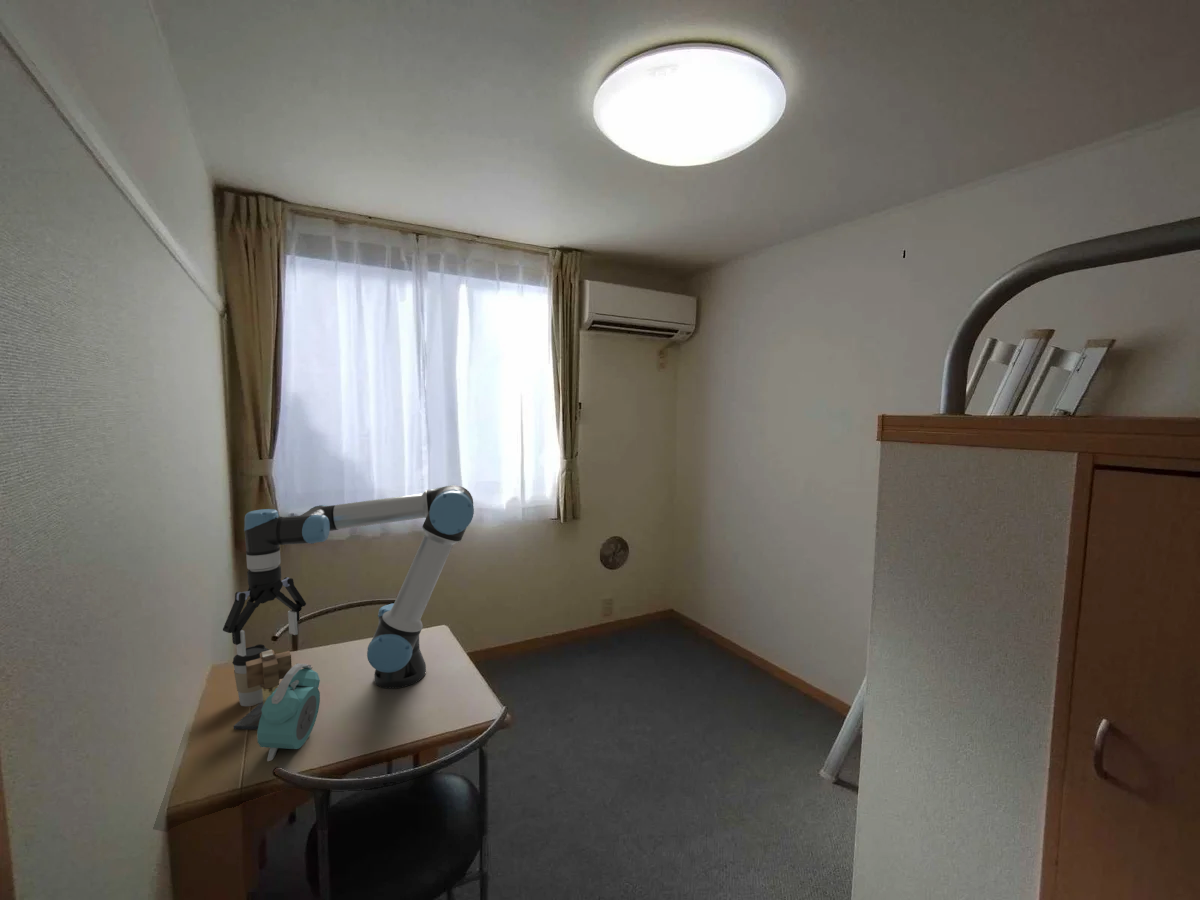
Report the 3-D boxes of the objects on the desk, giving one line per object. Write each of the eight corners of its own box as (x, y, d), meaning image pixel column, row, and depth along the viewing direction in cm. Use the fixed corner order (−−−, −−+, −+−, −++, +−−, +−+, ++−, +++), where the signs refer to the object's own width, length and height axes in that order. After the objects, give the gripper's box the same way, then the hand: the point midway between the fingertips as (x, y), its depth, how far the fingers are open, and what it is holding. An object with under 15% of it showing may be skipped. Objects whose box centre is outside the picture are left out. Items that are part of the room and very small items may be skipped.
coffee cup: (253, 710, 139) (250, 658, 137) (226, 706, 140) (223, 655, 139) (280, 692, 147) (277, 643, 146) (254, 689, 149) (252, 641, 148)
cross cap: (294, 684, 135) (292, 658, 134) (249, 697, 128) (247, 670, 128) (288, 669, 142) (287, 645, 142) (246, 681, 136) (244, 656, 136)
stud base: (306, 703, 142) (305, 672, 141) (278, 729, 130) (277, 696, 129) (264, 702, 142) (263, 672, 142) (233, 729, 130) (231, 696, 130)
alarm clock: (290, 723, 133) (286, 651, 131) (327, 722, 133) (324, 650, 132) (250, 770, 115) (245, 687, 114) (293, 767, 116) (289, 685, 115)
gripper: (300, 553, 146) (304, 623, 148) (202, 579, 124) (208, 661, 125) (317, 556, 143) (320, 628, 144) (219, 583, 120) (225, 668, 122)
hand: (268, 643), depth 135 cm, fingers open, 13 cm apart
